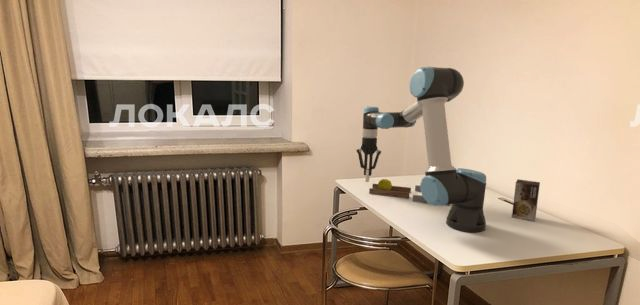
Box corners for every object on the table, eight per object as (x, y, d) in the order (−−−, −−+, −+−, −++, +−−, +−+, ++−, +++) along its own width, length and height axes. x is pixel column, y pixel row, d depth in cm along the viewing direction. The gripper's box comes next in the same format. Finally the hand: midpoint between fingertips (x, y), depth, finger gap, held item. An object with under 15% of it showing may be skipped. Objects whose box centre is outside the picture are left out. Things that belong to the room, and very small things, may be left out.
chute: (408, 198, 193) (409, 193, 192) (369, 193, 198) (369, 188, 198) (410, 192, 203) (411, 187, 202) (372, 188, 209) (372, 183, 208)
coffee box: (535, 217, 171) (540, 182, 167) (534, 221, 165) (539, 185, 162) (512, 213, 175) (517, 178, 172) (511, 217, 170) (515, 181, 167)
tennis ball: (393, 193, 200) (394, 180, 199) (383, 195, 197) (384, 181, 195) (384, 189, 206) (385, 176, 205) (374, 191, 203) (375, 178, 201)
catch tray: (449, 205, 183) (449, 199, 183) (412, 201, 188) (412, 195, 188) (448, 194, 201) (449, 188, 201) (415, 190, 206) (415, 185, 206)
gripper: (383, 136, 200) (380, 180, 205) (358, 134, 204) (356, 178, 209) (381, 138, 193) (378, 184, 198) (355, 136, 197) (353, 181, 201)
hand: (367, 181), depth 203 cm, fingers closed
